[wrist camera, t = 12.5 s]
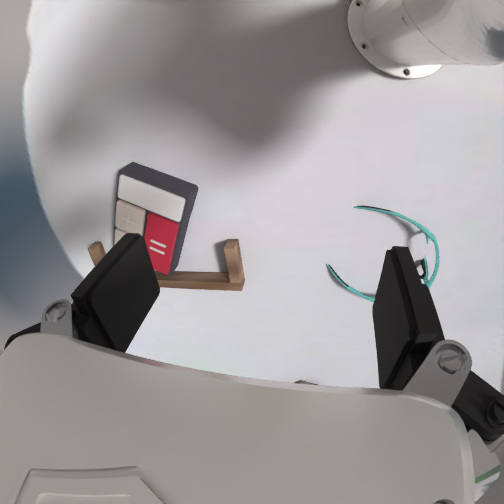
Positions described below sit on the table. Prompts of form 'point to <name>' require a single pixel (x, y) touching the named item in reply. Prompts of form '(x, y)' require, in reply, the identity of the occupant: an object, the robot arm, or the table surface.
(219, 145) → the table surface
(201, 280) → the holder
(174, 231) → the calculator
